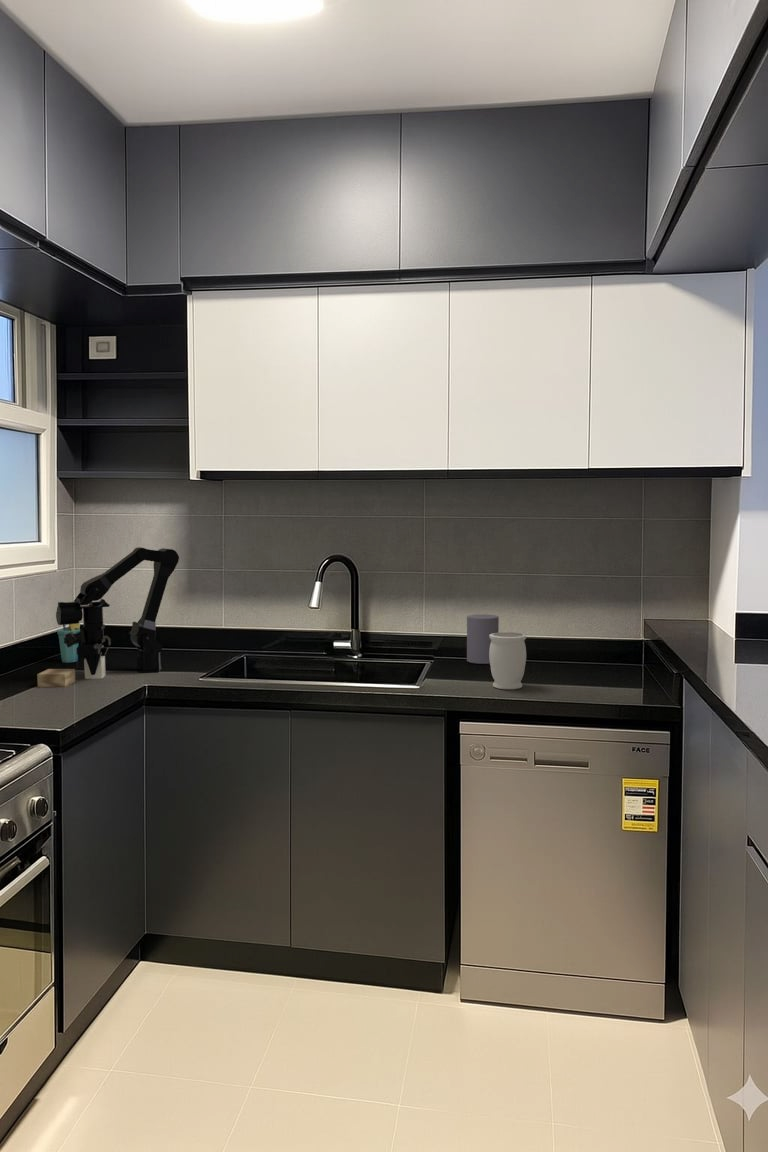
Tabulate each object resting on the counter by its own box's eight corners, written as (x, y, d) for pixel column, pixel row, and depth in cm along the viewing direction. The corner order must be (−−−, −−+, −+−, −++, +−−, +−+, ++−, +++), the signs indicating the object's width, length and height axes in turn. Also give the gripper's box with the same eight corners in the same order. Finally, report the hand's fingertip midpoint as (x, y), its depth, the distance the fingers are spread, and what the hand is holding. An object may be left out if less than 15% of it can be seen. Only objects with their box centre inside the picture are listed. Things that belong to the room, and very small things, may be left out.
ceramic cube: (105, 675, 270) (104, 655, 270) (101, 678, 266) (101, 658, 265) (88, 675, 270) (88, 656, 269) (84, 678, 265) (84, 659, 265)
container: (485, 657, 295) (485, 613, 294) (504, 662, 286) (505, 617, 285) (460, 661, 290) (460, 615, 289) (479, 665, 281) (479, 619, 280)
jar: (516, 692, 242) (517, 638, 241) (482, 688, 248) (483, 635, 246) (531, 685, 251) (532, 633, 250) (498, 681, 257) (498, 630, 255)
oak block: (75, 682, 262) (74, 668, 262) (65, 687, 254) (64, 674, 254) (48, 682, 262) (48, 669, 262) (37, 687, 254) (37, 674, 254)
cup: (71, 665, 287) (70, 620, 286) (48, 665, 287) (46, 620, 286) (88, 657, 301) (86, 614, 300) (65, 657, 301) (64, 614, 300)
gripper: (73, 618, 275) (75, 667, 276) (57, 627, 256) (59, 680, 258) (110, 618, 276) (112, 667, 277) (96, 626, 257) (98, 678, 259)
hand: (95, 673), depth 268 cm, fingers closed on ceramic cube, 5 cm apart
